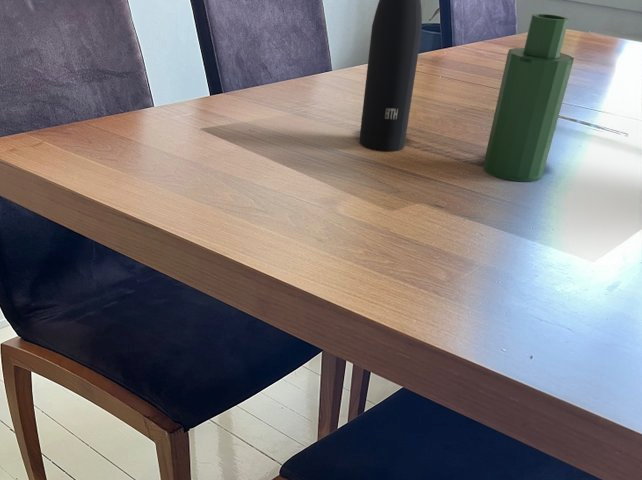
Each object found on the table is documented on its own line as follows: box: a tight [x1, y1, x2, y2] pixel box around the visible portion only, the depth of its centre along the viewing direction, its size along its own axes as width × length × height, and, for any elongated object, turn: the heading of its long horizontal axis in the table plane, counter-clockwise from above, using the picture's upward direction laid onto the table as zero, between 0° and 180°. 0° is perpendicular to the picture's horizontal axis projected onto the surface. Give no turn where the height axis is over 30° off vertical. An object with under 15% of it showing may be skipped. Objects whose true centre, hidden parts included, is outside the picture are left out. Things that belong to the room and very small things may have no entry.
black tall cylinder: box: [358, 0, 423, 152], centre depth 93 cm, size 6×6×30 cm
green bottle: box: [482, 13, 575, 183], centre depth 92 cm, size 8×8×18 cm
